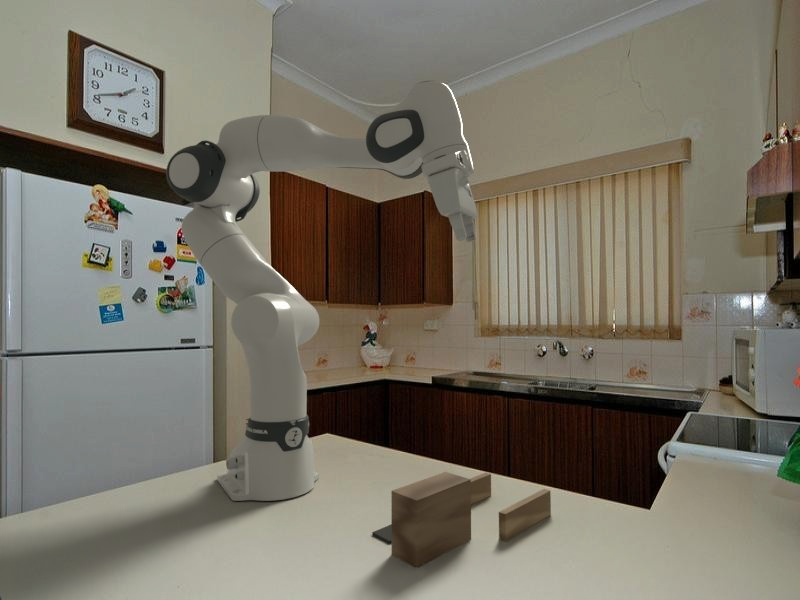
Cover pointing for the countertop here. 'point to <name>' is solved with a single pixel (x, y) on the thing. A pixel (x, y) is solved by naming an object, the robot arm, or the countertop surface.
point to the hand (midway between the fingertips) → (467, 240)
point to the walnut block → (430, 518)
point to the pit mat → (384, 534)
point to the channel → (513, 508)
